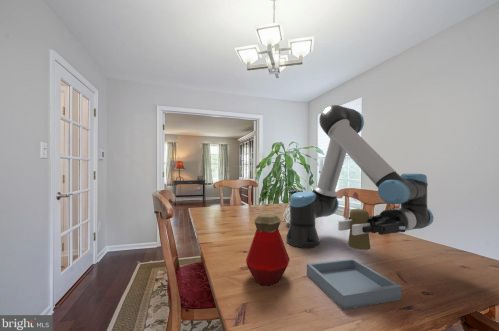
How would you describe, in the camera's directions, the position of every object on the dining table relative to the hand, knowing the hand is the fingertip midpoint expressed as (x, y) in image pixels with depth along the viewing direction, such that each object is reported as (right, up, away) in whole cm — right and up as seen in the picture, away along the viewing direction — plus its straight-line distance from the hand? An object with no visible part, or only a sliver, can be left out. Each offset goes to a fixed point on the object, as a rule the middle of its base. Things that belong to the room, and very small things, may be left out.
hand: (346, 227), depth 61 cm
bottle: (-22, -18, +6) cm, 29 cm away
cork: (+5, -6, +2) cm, 8 cm away
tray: (+2, -18, +2) cm, 18 cm away
